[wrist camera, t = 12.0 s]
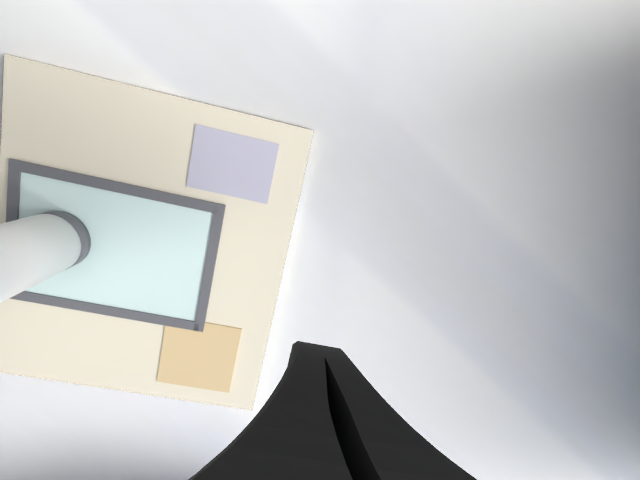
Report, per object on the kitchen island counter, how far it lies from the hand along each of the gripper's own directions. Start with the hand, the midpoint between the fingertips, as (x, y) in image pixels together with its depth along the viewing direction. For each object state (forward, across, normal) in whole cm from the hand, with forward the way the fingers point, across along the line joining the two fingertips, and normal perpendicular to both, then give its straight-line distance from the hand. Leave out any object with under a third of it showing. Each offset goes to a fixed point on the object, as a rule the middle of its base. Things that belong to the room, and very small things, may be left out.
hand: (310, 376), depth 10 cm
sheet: (+10, +8, +1) cm, 13 cm away
